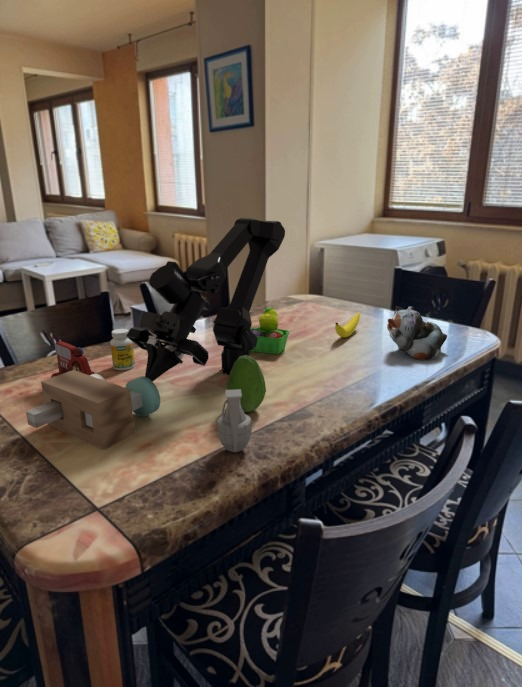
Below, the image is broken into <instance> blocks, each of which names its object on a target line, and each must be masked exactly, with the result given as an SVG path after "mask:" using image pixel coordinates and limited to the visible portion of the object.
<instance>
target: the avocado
mask: <svg viewBox="0 0 522 687" xmlns="http://www.w3.org/2000/svg"><path fill="white" fill-rule="evenodd" d="M262 371H263V370H262V369H261V367H260V365H259V363H258V361H257V360H256V358H254V357H252V356H251V357H250V356H248V355H243V356H240V357H239V358H238V359H237V360H236V361H235V363H234V365H233V367H232V370H231V372H230V374H228V379H227V382H226V386H225V390H236V389H241V394H242V397H241V398H240V405H241V407H242V409H243V411H244V413H250V412H253V411H255V410H257V409H258V408H259V407H260V405H261V404H262V403H263V401H264V399H265V396H266V392H267V388H266V387H267V386H266V380H265V376H264V373H263V372H262Z"/></svg>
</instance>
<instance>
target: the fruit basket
mask: <svg viewBox="0 0 522 687" xmlns="http://www.w3.org/2000/svg"><path fill="white" fill-rule="evenodd" d="M258 322H259V327H257V326H256V327H255V326H254V327H251V329H250V330H251V331H252V332H253V333H254V335H255V336H256V337H257V338H258V340H257V345H256V347H254V349H253V350H251V352H256V353H264V354H273V355H280V354H281V353H282V352H283V351H284V350H285V349H286V345H287V342H288V338H289V335H290V330H288V329H282V328H281V329H280V328H279V329H278V327H279V320H278V312H277V311H276V310H275V309H274V307H270V306H269V307H266V308H265V309H264V311H263V312H262V315H261V316H260V317H259V318H258Z"/></svg>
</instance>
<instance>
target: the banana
mask: <svg viewBox="0 0 522 687" xmlns="http://www.w3.org/2000/svg"><path fill="white" fill-rule="evenodd" d="M360 317H361V312H360V311H359V312H356V314H354V316H352V318H350V320H349V321H348V322H347V323H346V324H345V325H344V326H342V325H341V324H339V322H335V326H334V329H335V332H336V334H337V336H339V337H341V338H345V339H346V338H348V337H350V336H351V335H352V334H353V333H354V331H355V330H356V328H357V327H358V324H359V321H360Z"/></svg>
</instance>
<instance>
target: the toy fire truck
mask: <svg viewBox="0 0 522 687" xmlns="http://www.w3.org/2000/svg"><path fill="white" fill-rule="evenodd" d="M54 349H55V350H54V351H55V354H56V357H57V358H56V359H57V367H58V371H57V372H54V373H52V374H51V376H50V378H52V377H55V376H58V375H61V374H64V373H66V372H69V371H72V370H75V371H78V372H81V373H84V374H87V375H92V374H97V373H96V372H95V371H92V369H91V366H90V363H89V361H88V358H87V357H86V356H85V355H84V349H83V348H82V347H76V346H75V345H72V344H70V343H67V342H64V341H57V342H55V343H54Z"/></svg>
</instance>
